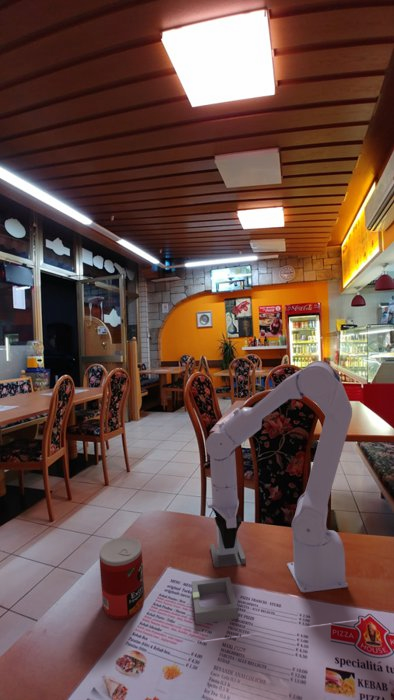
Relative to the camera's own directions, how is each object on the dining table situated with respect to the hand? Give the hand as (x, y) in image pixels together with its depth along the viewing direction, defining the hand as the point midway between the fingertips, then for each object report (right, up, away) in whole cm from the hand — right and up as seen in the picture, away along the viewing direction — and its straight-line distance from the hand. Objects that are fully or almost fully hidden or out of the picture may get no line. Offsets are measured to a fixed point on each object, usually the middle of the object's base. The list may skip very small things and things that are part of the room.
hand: (227, 541), depth 77 cm
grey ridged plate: (0, -4, 0) cm, 4 cm away
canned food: (-21, -6, -12) cm, 25 cm away
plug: (0, -2, 0) cm, 2 cm away
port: (-4, -5, -13) cm, 14 cm away
